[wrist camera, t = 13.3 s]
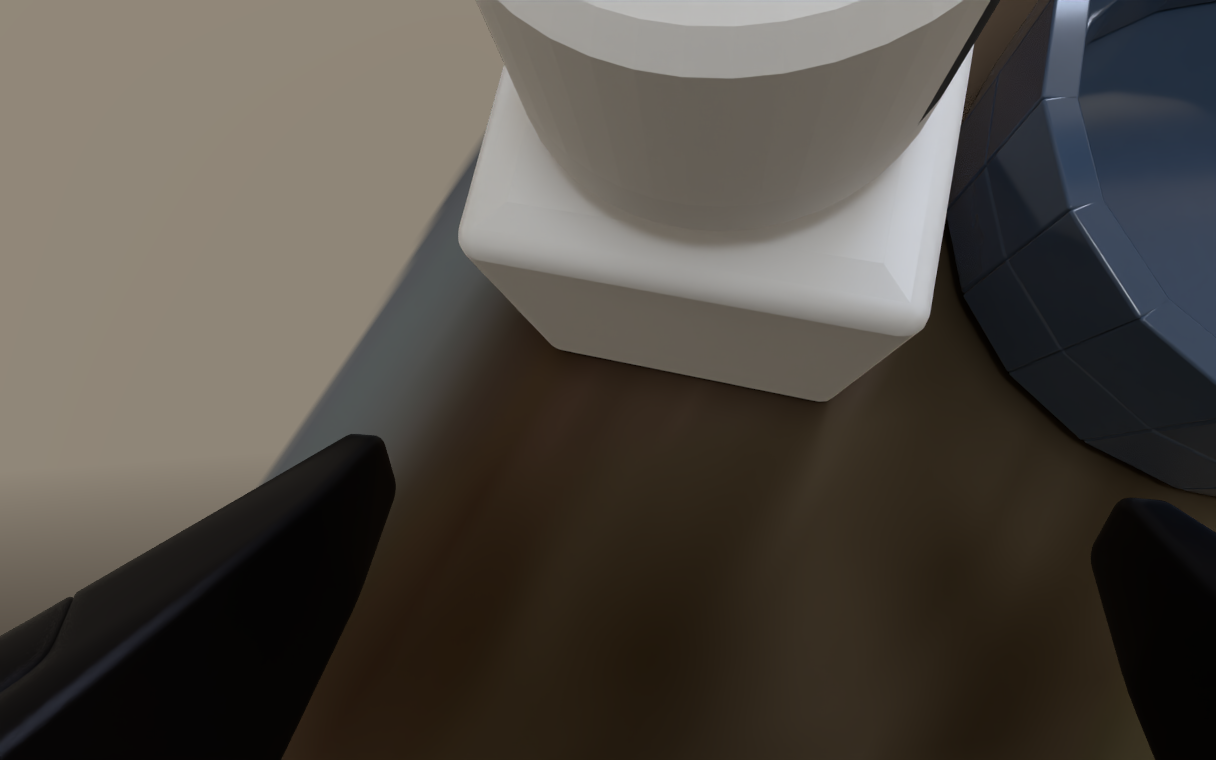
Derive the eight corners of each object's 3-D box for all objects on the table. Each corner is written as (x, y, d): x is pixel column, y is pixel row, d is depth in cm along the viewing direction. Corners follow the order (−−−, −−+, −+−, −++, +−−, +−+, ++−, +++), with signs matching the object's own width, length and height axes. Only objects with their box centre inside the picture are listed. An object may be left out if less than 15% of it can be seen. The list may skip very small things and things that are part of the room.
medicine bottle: (610, 99, 18) (447, -629, 6) (881, 135, 17) (1289, -684, 5) (548, 349, 17) (221, 26, 5) (831, 407, 16) (1202, 148, 4)
